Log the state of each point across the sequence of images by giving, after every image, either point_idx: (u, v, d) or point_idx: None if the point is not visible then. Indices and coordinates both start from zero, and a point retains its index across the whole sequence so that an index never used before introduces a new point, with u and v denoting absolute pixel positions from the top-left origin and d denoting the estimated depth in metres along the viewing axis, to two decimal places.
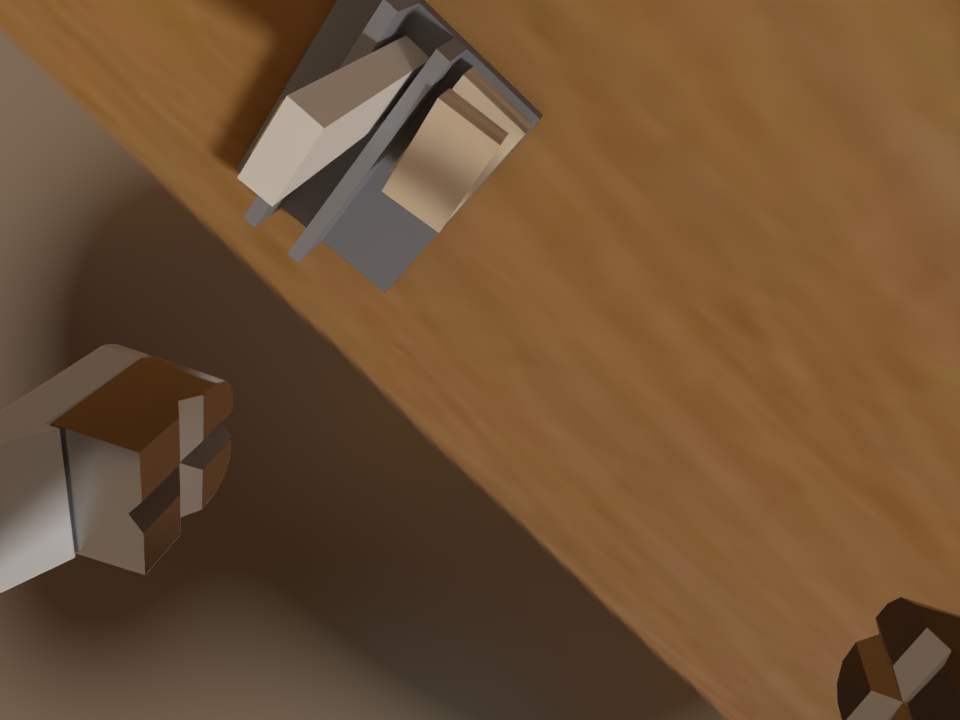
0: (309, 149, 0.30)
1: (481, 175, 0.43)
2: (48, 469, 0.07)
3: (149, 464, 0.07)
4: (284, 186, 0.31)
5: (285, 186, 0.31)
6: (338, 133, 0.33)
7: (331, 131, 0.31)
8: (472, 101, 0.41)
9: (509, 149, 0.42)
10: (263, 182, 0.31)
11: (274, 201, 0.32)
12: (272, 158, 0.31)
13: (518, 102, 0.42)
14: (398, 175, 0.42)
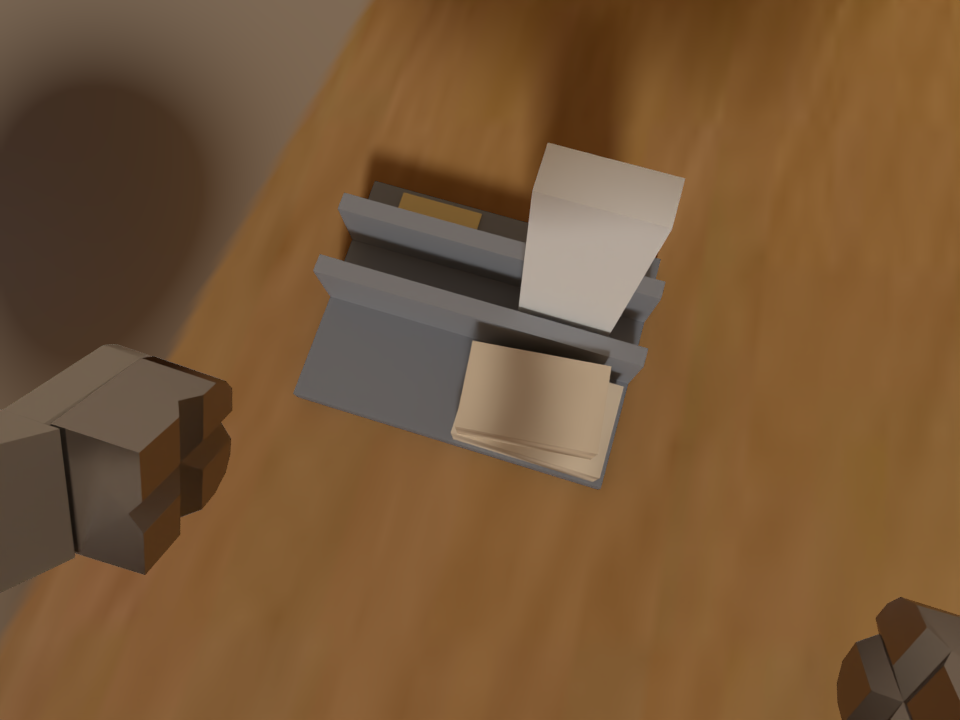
0: (635, 218, 0.23)
1: (528, 449, 0.35)
2: (48, 469, 0.07)
3: (149, 464, 0.07)
4: (569, 199, 0.24)
5: (568, 201, 0.24)
6: (606, 258, 0.27)
7: (636, 244, 0.25)
8: None
9: (573, 468, 0.35)
10: (560, 174, 0.24)
11: (541, 192, 0.24)
12: (597, 178, 0.24)
13: (605, 457, 0.37)
14: (501, 354, 0.34)
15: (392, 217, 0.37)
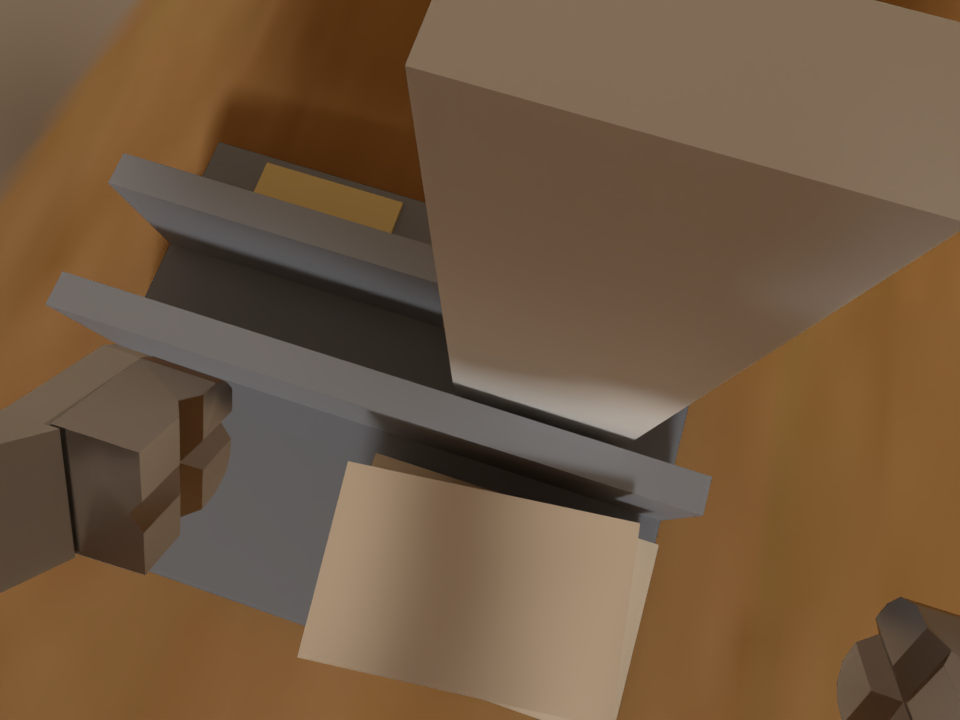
0: (816, 179, 0.06)
1: None
2: (48, 469, 0.07)
3: (149, 464, 0.07)
4: (550, 102, 0.06)
5: (548, 108, 0.06)
6: (657, 310, 0.09)
7: (776, 276, 0.07)
8: None
9: None
10: (516, 8, 0.06)
11: (440, 71, 0.06)
12: (661, 25, 0.06)
13: None
14: (408, 492, 0.16)
15: (214, 201, 0.19)
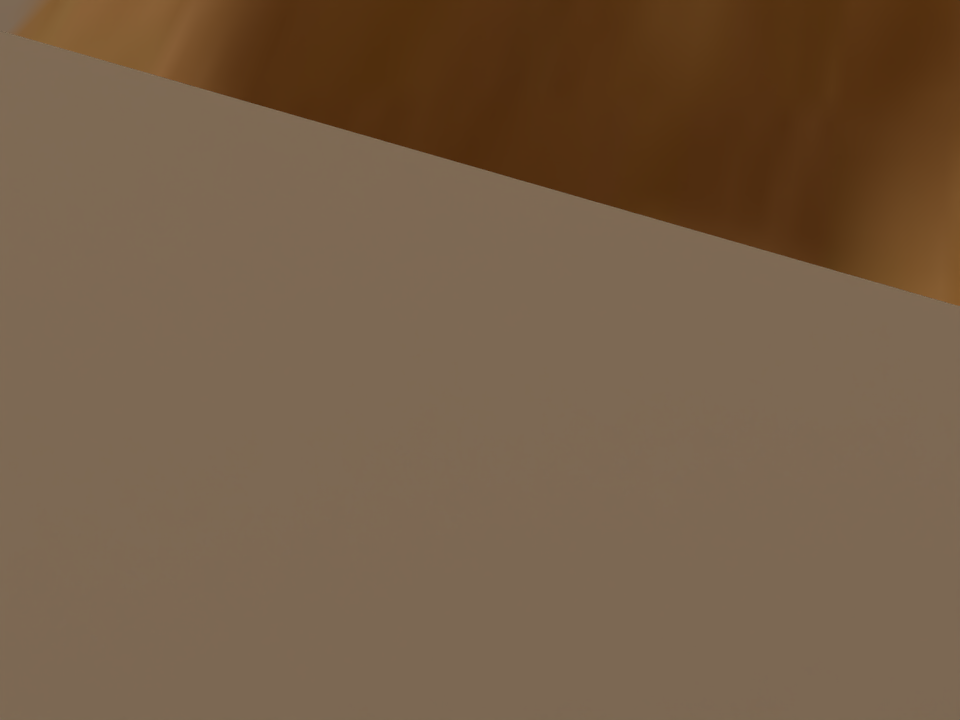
0: None
1: None
2: None
3: None
4: None
5: None
6: None
7: None
8: None
9: None
10: None
11: None
12: (586, 609, 0.01)
13: None
14: None
15: None
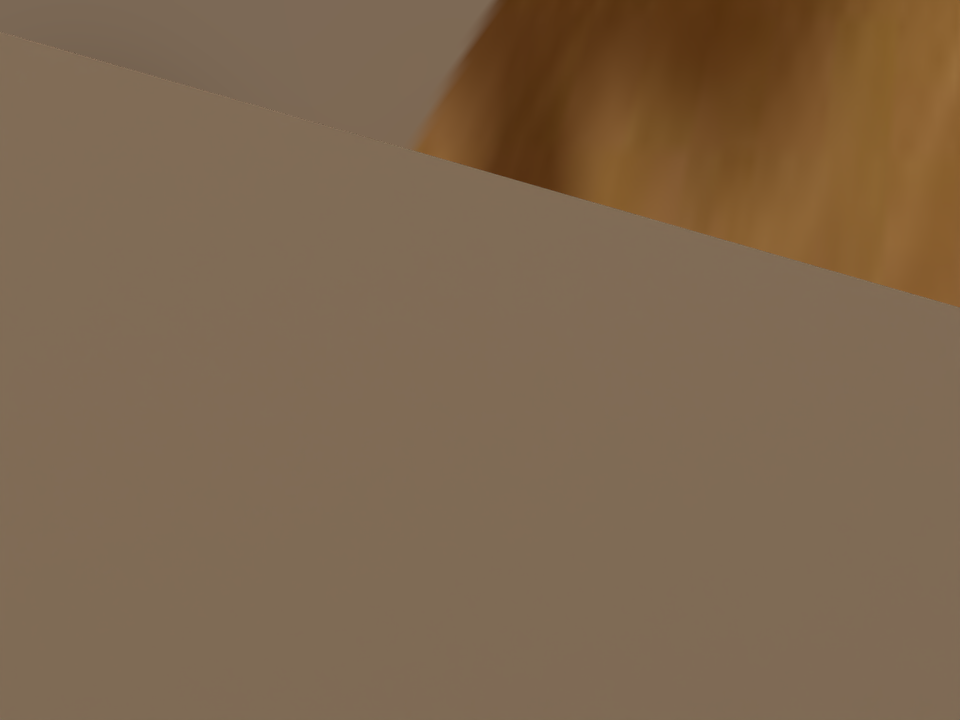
0: None
1: None
2: None
3: None
4: None
5: None
6: None
7: None
8: None
9: None
10: None
11: None
12: (588, 618, 0.01)
13: None
14: None
15: None
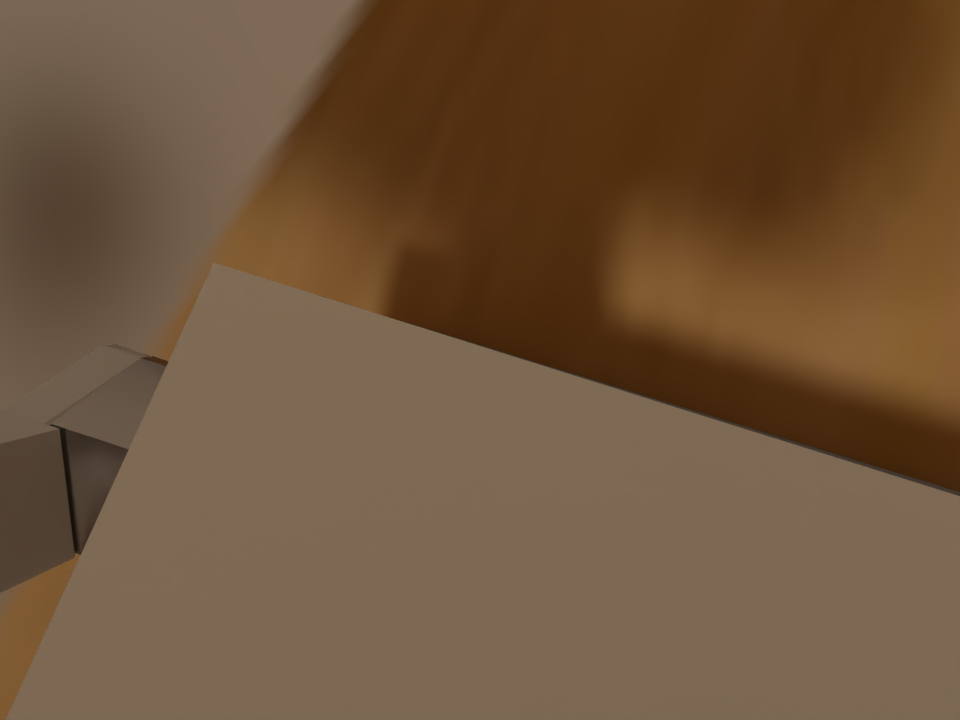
0: None
1: None
2: (48, 469, 0.07)
3: None
4: None
5: None
6: None
7: None
8: None
9: None
10: (278, 566, 0.03)
11: None
12: (610, 606, 0.03)
13: None
14: None
15: None
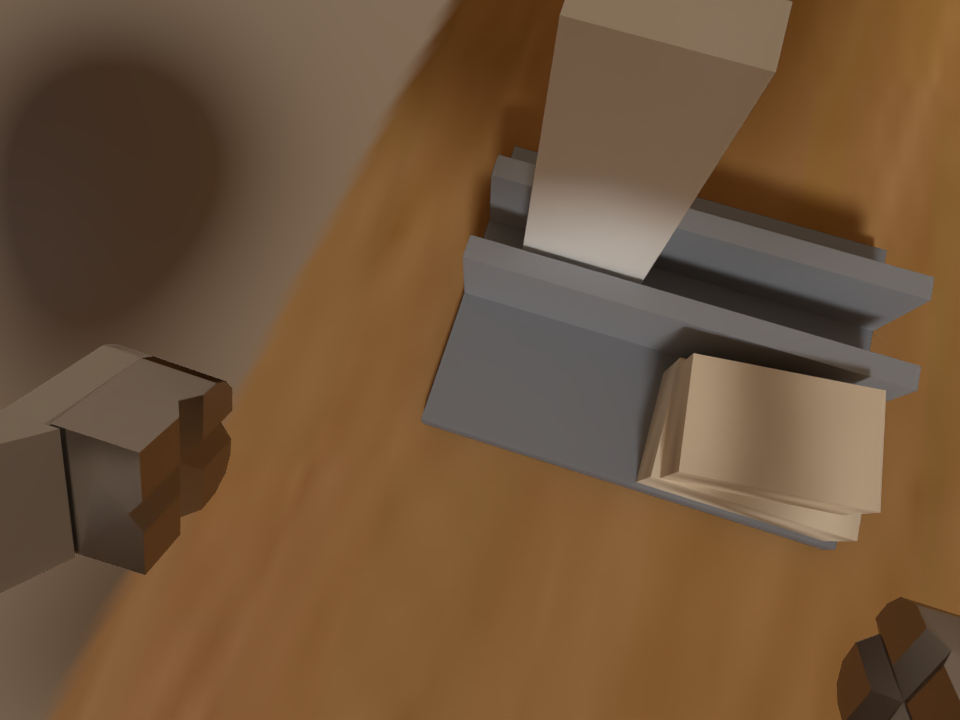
0: (718, 56, 0.15)
1: (757, 501, 0.26)
2: (48, 469, 0.07)
3: (149, 464, 0.07)
4: (616, 28, 0.15)
5: (615, 31, 0.15)
6: (658, 145, 0.19)
7: (711, 112, 0.17)
8: None
9: (820, 527, 0.26)
10: None
11: (573, 17, 0.15)
12: None
13: None
14: (735, 372, 0.25)
15: None
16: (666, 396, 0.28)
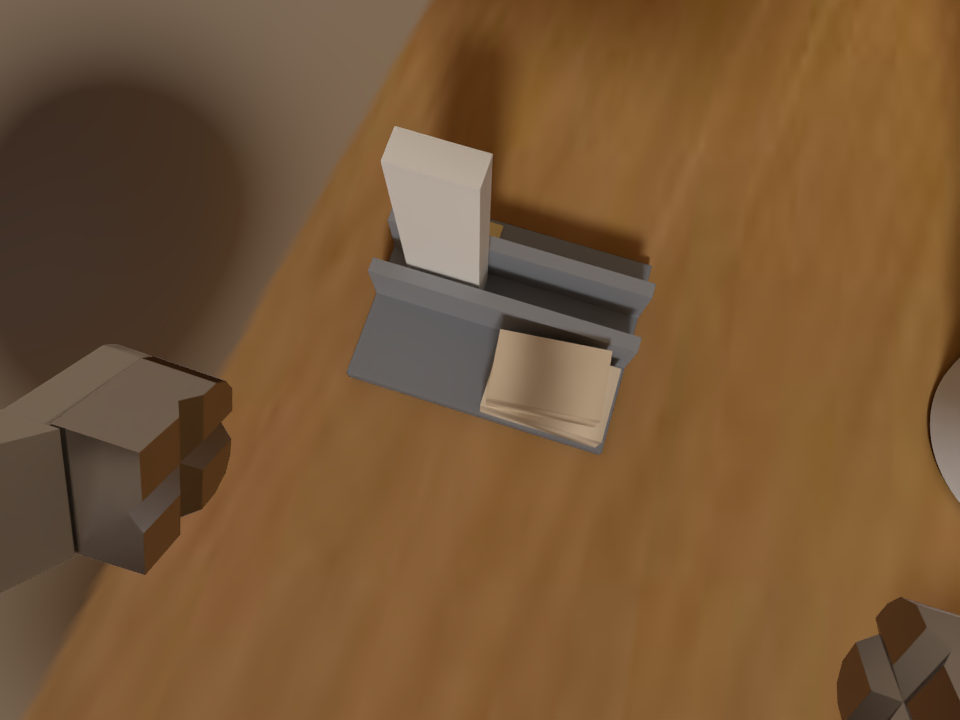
0: (454, 181, 0.32)
1: (543, 419, 0.43)
2: (48, 469, 0.07)
3: (149, 464, 0.07)
4: (407, 167, 0.32)
5: (407, 168, 0.32)
6: (449, 216, 0.36)
7: (463, 203, 0.34)
8: None
9: (580, 434, 0.43)
10: (401, 149, 0.33)
11: (387, 161, 0.32)
12: (429, 152, 0.33)
13: (605, 428, 0.45)
14: (524, 340, 0.42)
15: None
16: None
